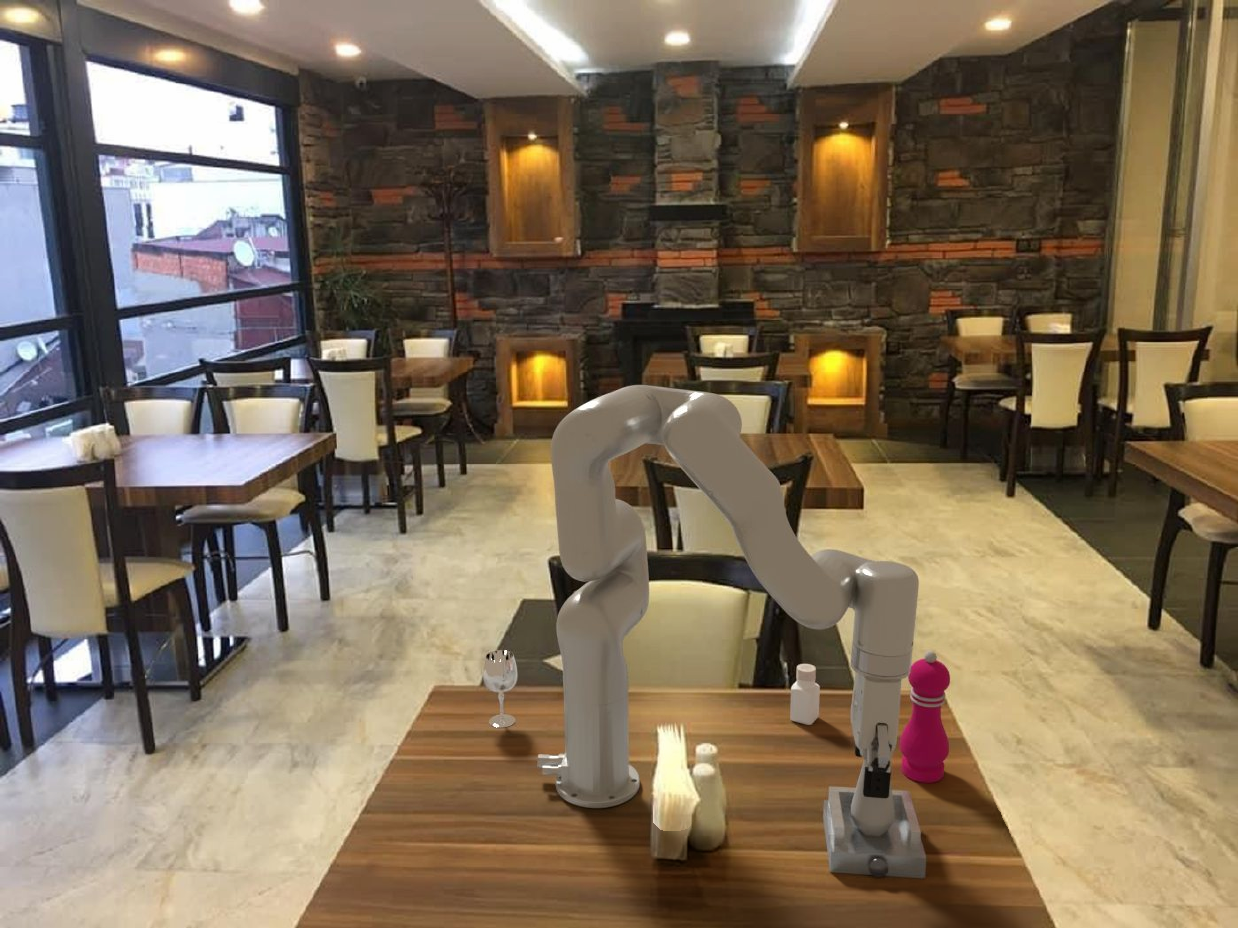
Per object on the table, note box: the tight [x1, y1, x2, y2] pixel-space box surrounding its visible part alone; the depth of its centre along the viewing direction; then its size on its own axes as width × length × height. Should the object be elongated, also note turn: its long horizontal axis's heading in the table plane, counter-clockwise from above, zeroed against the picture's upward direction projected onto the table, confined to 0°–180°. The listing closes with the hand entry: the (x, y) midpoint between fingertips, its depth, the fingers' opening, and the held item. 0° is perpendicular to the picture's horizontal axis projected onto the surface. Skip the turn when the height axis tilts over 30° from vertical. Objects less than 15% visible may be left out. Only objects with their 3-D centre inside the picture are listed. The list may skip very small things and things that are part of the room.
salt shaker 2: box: [851, 742, 895, 836], centre depth 133 cm, size 6×6×13 cm
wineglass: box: [482, 649, 518, 729], centre depth 169 cm, size 6×6×12 cm
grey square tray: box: [822, 786, 927, 880], centre depth 134 cm, size 12×13×6 cm
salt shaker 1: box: [789, 663, 821, 726], centre depth 169 cm, size 4×4×10 cm
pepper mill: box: [899, 650, 951, 784], centre depth 151 cm, size 7×7×20 cm
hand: (870, 775), depth 133 cm, fingers open, 9 cm apart
